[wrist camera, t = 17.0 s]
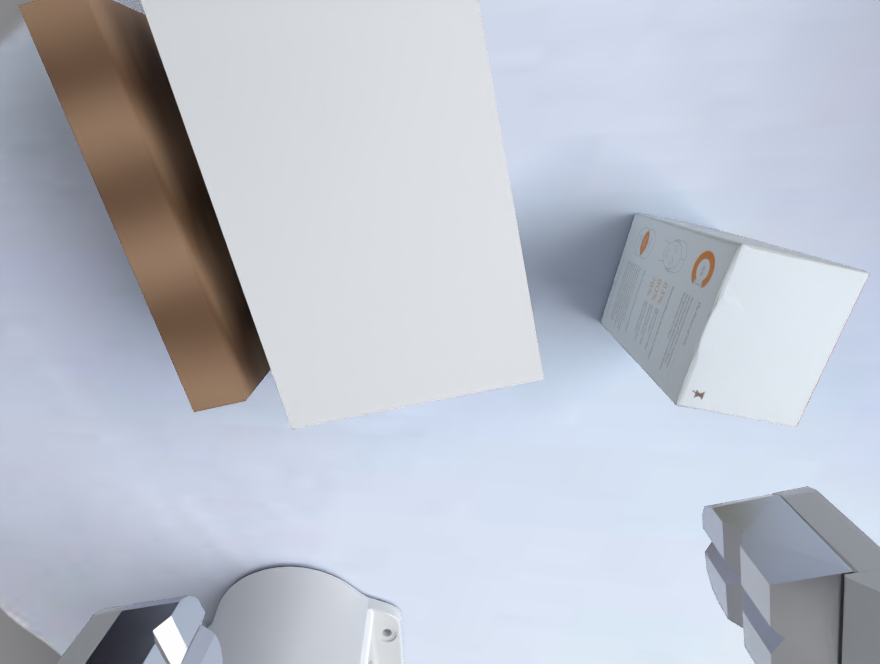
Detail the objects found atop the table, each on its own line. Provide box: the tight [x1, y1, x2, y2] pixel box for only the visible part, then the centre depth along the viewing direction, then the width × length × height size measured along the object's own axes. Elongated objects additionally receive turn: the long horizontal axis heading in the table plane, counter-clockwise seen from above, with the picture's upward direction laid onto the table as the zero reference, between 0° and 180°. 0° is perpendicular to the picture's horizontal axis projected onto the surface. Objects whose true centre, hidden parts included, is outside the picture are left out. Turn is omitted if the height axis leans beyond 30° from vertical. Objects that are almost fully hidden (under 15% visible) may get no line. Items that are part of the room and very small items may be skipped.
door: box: [19, 0, 270, 412], centre depth 31 cm, size 20×4×10 cm, turn 13°
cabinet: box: [141, 0, 544, 429], centre depth 30 cm, size 22×21×10 cm
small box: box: [601, 213, 869, 427], centre depth 30 cm, size 8×6×13 cm
